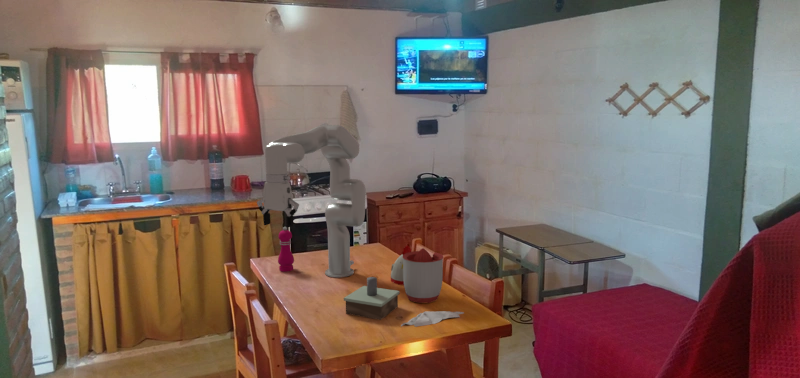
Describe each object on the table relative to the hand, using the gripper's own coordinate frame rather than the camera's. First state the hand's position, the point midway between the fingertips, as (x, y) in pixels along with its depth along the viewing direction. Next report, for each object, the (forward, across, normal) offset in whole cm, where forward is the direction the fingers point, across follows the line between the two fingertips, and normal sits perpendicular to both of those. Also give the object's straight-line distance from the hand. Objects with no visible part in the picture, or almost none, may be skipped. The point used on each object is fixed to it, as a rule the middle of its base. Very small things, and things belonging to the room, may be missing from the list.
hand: (278, 225), depth 203 cm
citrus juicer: (+31, -46, -28) cm, 62 cm away
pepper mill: (+31, +24, -41) cm, 57 cm away
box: (+31, -33, -9) cm, 46 cm away
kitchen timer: (+31, -32, -47) cm, 65 cm away
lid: (+26, -33, -9) cm, 43 cm away
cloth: (+32, -56, -10) cm, 65 cm away
